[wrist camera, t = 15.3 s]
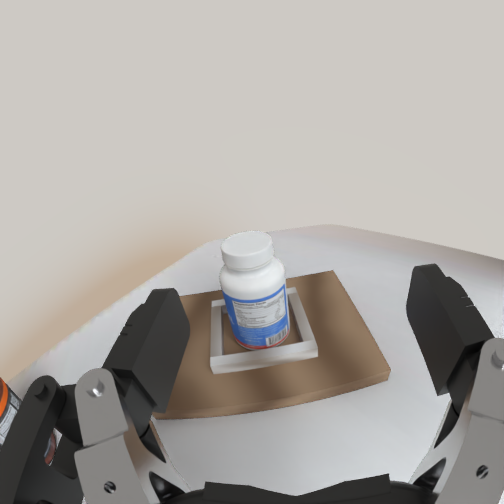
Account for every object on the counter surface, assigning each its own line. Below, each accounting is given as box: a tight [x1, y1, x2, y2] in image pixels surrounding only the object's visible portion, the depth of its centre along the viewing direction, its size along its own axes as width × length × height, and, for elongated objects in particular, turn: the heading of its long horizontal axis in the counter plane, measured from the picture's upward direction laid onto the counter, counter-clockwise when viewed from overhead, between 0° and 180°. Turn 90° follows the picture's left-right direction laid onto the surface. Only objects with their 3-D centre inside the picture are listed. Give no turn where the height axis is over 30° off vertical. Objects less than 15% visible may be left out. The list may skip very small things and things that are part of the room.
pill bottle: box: [219, 231, 290, 351], centre depth 24 cm, size 6×5×10 cm
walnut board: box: [152, 270, 391, 419], centre depth 27 cm, size 20×16×3 cm
